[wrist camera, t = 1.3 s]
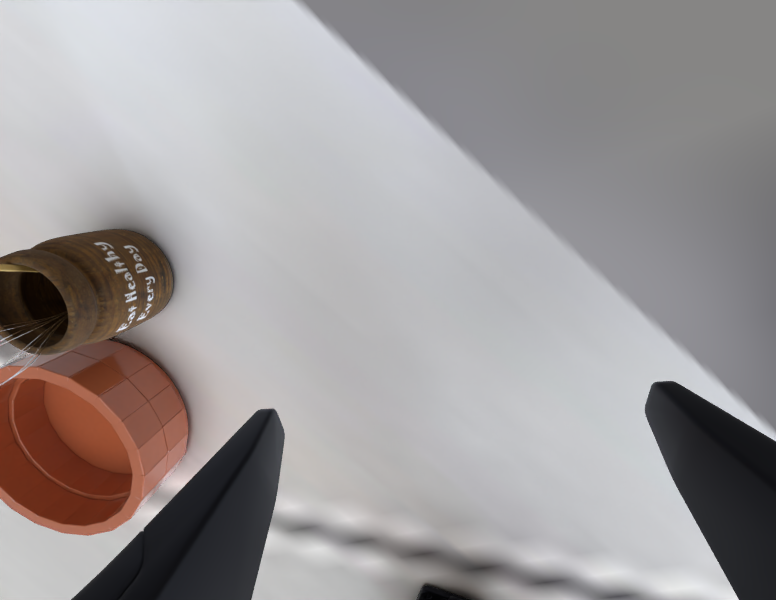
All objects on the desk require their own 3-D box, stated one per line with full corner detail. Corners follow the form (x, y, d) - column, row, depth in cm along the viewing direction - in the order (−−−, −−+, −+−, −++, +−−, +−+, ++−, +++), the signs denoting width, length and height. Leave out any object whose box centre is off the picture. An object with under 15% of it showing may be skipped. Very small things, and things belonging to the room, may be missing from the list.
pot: (182, 500, 31) (134, 559, 26) (37, 450, 31) (-36, 499, 26) (203, 366, 27) (152, 406, 22) (38, 311, 27) (-46, 339, 23)
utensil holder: (108, 321, 27) (-136, 427, 16) (77, 227, 25) (-223, 268, 14) (188, 315, 26) (-9, 422, 15) (161, 216, 24) (-86, 251, 13)
